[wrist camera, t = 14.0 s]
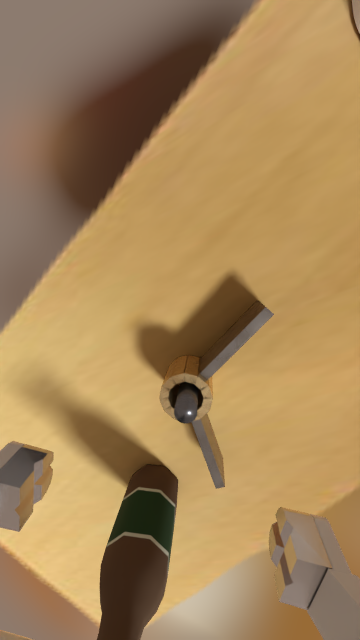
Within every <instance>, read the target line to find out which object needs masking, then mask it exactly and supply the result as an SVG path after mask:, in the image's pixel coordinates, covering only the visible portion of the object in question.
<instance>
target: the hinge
mask: <svg viewBox="0 0 360 640" xmlns="http://www.w3.org/2000/svg"><path fill="white" fill-rule="evenodd" d="M273 315H274V314H273V313H272V312H271V311H270V310H269V309H267V308H266V307H265V306H264V305H263V304H261V303H260V302H259V301H258V300H257V301H256V302H255V303H254V304H253V305H252V306H251V307H250V308H249V309H248V311H247V312H246V313H245V314H244V315H243V316H242V317H241V318H240V319H239V320H238V321H237V322H236V323H235V324H234V325H233V326H232V327H231V328H230V329H229V330H228V331H227V332H226V333H225V334H224V335H223V336H222V337H221V338H220V339H219V340H218V341H217V342H216V343H215V344H214V345H213V346H212V347H211V348H210V349H209V351H208V352H207V353H206V354H205V355H204V356H203V357H202V358H199V357H195V356H191V355H186V356H182V357H179V358H176V359H175V361H174V362H173V363H172V364H171V365H170V366H169V368H168V371H167V374H166V376H165V379H164V382H163V384H162V387H161V392H160V402H161V404H162V407H163V409H164V411H165V412H166V413H167V414H169V415H170V416H171V417H172V418H173V419H174V418H175V415H174V409H175V404H176V400H177V395H178V390H179V385H178V383H182V382H188V383H192V384H195V385H196V386H197V387H198V404H197V416H196V418H195V420H194V421H192V425H193V427H194V430H195V433H196V436H197V438H198V441H199V444H200V447H201V449H202V452H203V455H204V457H205V460H206V463H207V466H208V468H209V471H210V474H211V477H212V479H213V482H214V485H215V487H216V488H221V487H225V480H224V466H223V457H222V454H221V452H220V449H219V446H218V443H217V440H216V437H215V435H214V432H213V429H212V426H211V423H210V420H209V418H208V415H207V412H209V410H210V407H211V403H212V399H213V391H212V375H213V374H214V373H215V372H216V371H217V370H218V369H219V368H220V367H221V366H222V365H223V364H224V363H225V362H226V361H227V360H228V359H229V358H230V357H231V356H232V355H233V354H234V353H236V352H237V351H238V350H239V349H240V348H241V347H242V346H243V345H244V344H245V343H246V342H247V341H248V340H249V339H250V338H251V337H252V336H253V335H254V334H255V333H256V332H257V331H258V330H259V329H260V328H261V327H262V326H263V325H264V324H265V323H266V322H267V321H268V320H269V319H270V318H271V317H272V316H273ZM175 420H177V419H176V418H175Z"/></svg>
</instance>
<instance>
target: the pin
mask: <svg viewBox="0 0 360 640" xmlns="http://www.w3.org/2000/svg"><path fill="white" fill-rule="evenodd" d="M197 404H198V387H197V386H196V385H195V384H192V383H188V382H182V383H180V385H179V390H178V395H177V400H176V404H175V409H174V415H175V418H176V419H177V420H178V421H180V422H182V423H190V422H192V421H194V420H195V418H196V416H197Z"/></svg>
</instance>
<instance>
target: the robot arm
mask: <svg viewBox="0 0 360 640" xmlns="http://www.w3.org/2000/svg"><path fill="white" fill-rule="evenodd" d="M352 7H353V14H354V19H355V23H356V26H357V29H358V31H359V34H360V0H352ZM52 461H53V452H52V451H48V450H45V449H41V448H38V447H34V446H30V445H27V444H22V443H19V442H15V441H12V442H10V443H8V444H7V445H6V446H5V447H4V448H3V449H2V450H1V451H0V527H1V528H5V529H9V530H14V531H18V532H19V531H20V530H21V529H22V527H23V526H24V524H25V523H26V521H27V520H28V518H29V517H30V515H31V514H32V513H33V504H35V503H36V502H38V501H40V500H41V499H42V498H43V496H44V495H45V493H46V492H47V489H48V487H49V485H50V483H51V479H52V475H53V469H52V468H51V466H50V464H51V463H52ZM276 519H277V522H276V523H274V524H272V526H271V530H270V534H269V551H270V556H271V560H272V561H273V562H274V564H275V565H276V567H277V569H276V571H275V574H274V577H275V583H276V588H277V592H278V598H279V602H283V603H286V604H289V605H293V606H296V607H299V608H303V609H306V610H308V614H309V615H310V617H311V619H312V620H313V622H314V624H315V625H316V627H317V629H318V630H319V632H320V634H321V635H322V637H323V639H324V640H360V579H359V578H358V577H357V576H356V575H352V574H351V571H350V569H349V567H348V564H347V562H346V560H345V558H344V555H343V553H342V551H341V549H340V546H339V544H338V542H337V539H336V537H335V535H334V532H333V530H332V528H331V525H330V523H329V521H328V520H327V519H326V518H324V517H320V516H316V515H312V514H308V513H304V512H300V511H295V510H291V509H287V508H282V507H280V508H279V509H278V510H277V513H276ZM0 640H33V639H29V638H26V637H23V636H19V635H16V634H13V633H9V632H5V631H2V630H0Z"/></svg>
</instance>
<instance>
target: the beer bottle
mask: <svg viewBox="0 0 360 640" xmlns="http://www.w3.org/2000/svg"><path fill="white" fill-rule="evenodd" d="M177 492H178V479H177V478H176V477H175V476H174V475H173V474H172V473H171V472H170V471H169V470H168V469H167V468H166V467H165V466H157V465H149V464H147V465H145V466H144V467H143V468H141V469H140V470H139V471H137V472H136V473H135V474H133V475H132V478H131V480H130V482H129V484H128V487H127V490H126V493H125V496H124V498H123V501H122V504H121V507H120V510H119V512H118V515H117V518H116V521H115V524H114V526H113V529H112V532H111V535H110V538H109V540H108V543H107V546H106V549H105V553H104V556H103V560H102V563H101V572H100V604H101V610H102V617H101V623H100V629H99V634H98V638H97V640H140V638H141V635H142V632H143V629H144V627H145V626H146V625H147V623H148V622H149V621H150V620H151V618H152V617H153V616H154V614H155V613H156V612H157V610H158V607H159V605H160V603H161V601H162V598H163V596H164V592H165V587H166V582H167V577H168V569H169V561H170V554H171V546H172V538H173V530H174V523H175V515H176V507H177Z"/></svg>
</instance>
